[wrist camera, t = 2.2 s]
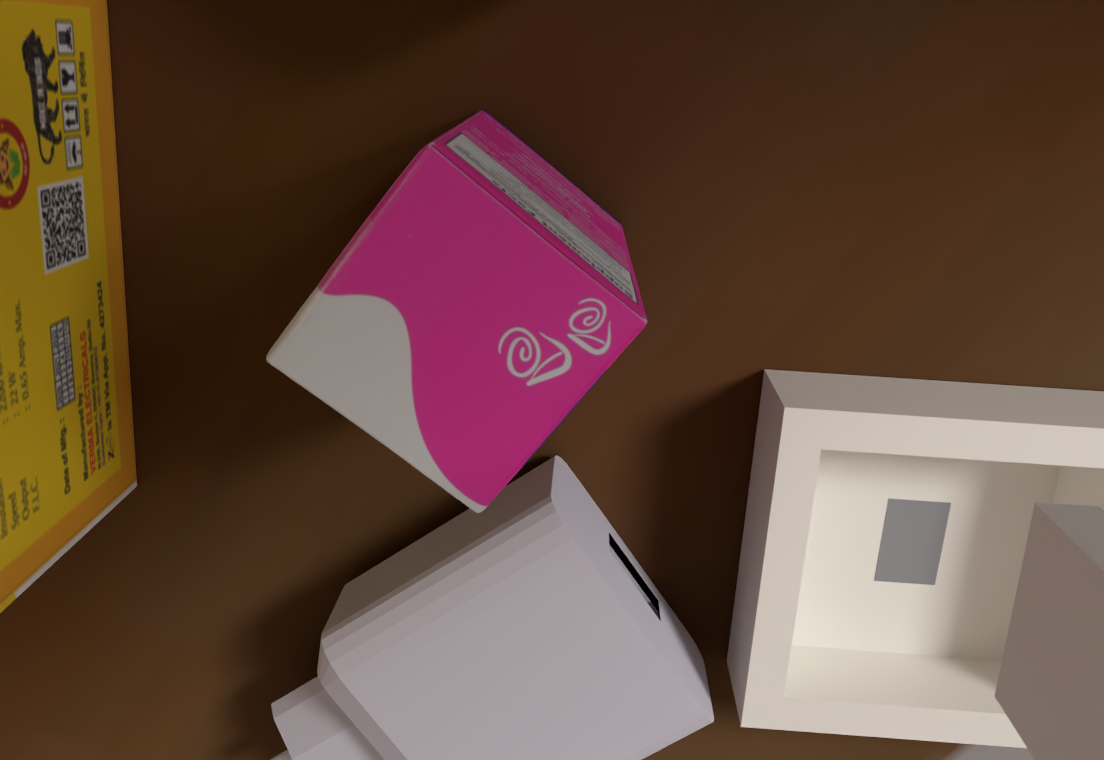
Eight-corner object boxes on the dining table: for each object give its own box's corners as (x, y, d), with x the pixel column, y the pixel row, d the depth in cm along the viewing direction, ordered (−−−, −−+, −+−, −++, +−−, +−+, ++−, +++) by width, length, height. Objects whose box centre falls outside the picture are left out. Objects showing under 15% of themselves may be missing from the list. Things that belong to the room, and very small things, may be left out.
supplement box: (515, 367, 32) (473, 527, 21) (367, 250, 31) (242, 355, 20) (633, 228, 30) (654, 324, 19) (481, 101, 29) (413, 126, 18)
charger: (216, 655, 36) (557, 444, 33) (369, 829, 38) (703, 647, 35) (161, 740, 31) (551, 506, 28) (338, 932, 34) (719, 734, 30)
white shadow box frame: (764, 369, 31) (784, 407, 28) (1107, 391, 31) (1170, 433, 28) (726, 661, 35) (740, 726, 31) (1036, 683, 35) (1084, 752, 31)
